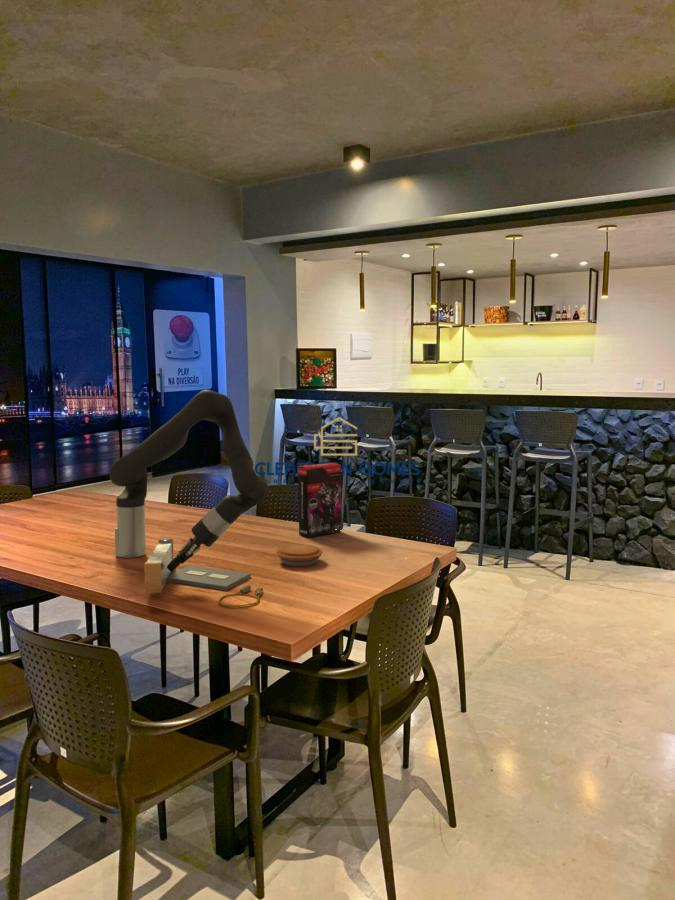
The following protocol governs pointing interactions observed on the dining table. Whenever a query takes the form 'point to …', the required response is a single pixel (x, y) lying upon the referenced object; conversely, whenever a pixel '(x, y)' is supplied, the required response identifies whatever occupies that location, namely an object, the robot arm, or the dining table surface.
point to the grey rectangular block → (158, 566)
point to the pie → (299, 555)
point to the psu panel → (207, 577)
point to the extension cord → (243, 590)
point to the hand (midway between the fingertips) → (169, 569)
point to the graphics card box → (319, 499)
